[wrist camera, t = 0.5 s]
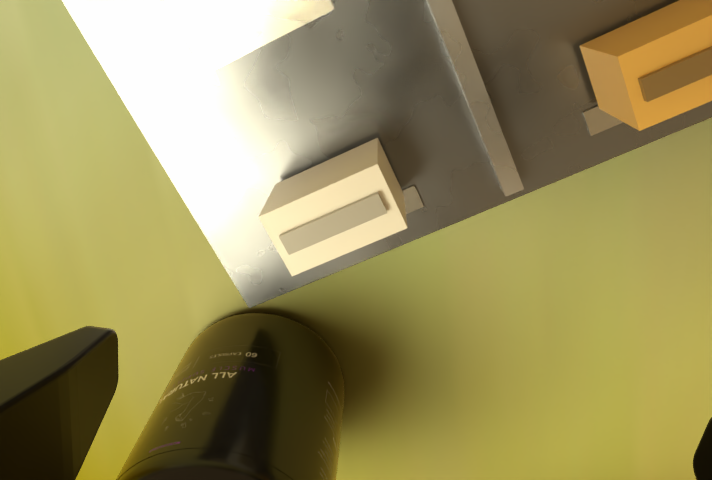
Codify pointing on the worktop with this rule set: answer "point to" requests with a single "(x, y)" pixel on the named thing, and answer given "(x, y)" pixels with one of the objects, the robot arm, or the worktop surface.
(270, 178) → the breaker panel
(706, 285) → the worktop surface
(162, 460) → the supplement bottle
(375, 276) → the worktop surface
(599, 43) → the amber toggle
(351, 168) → the ivory toggle
